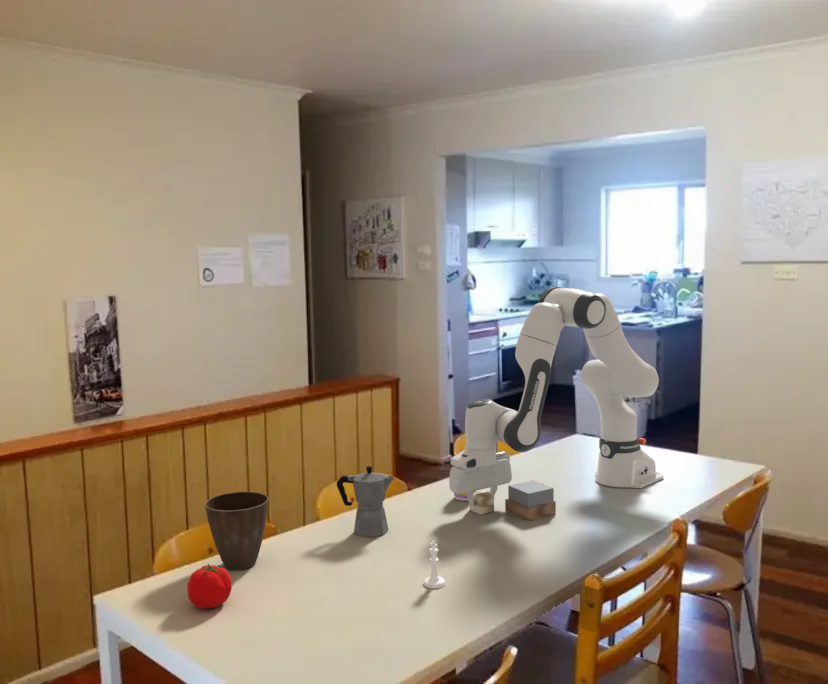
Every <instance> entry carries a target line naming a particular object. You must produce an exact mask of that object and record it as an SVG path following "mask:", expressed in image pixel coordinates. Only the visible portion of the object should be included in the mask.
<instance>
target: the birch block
mask: <svg viewBox="0 0 828 684" xmlns="http://www.w3.org/2000/svg"><path fill="white" fill-rule="evenodd" d="M472 496H473V498H474V499H476V500H477V502H476V503H477V505H475V506H470V505H469V511H471V512H473V513H476V514H477V515H484V514H487V513H491V512H494V511H495V495H494V494H492V493H490V491H488V490H484V489H481V490H477V491H476V492H474V494H473V495H472Z"/></svg>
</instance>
